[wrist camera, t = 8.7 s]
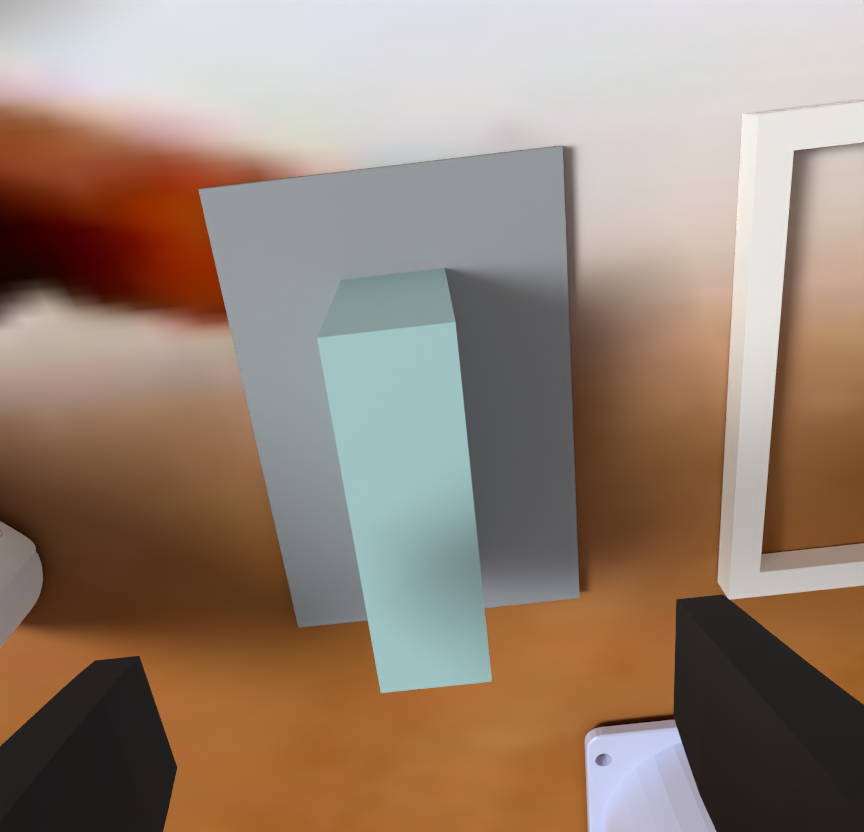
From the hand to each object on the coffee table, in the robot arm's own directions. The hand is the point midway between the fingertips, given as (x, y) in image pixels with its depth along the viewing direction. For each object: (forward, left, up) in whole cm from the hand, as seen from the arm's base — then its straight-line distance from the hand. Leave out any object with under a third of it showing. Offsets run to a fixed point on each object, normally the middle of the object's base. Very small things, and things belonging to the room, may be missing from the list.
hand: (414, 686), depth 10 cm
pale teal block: (0, 0, -9) cm, 9 cm away
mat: (0, 0, -9) cm, 9 cm away
